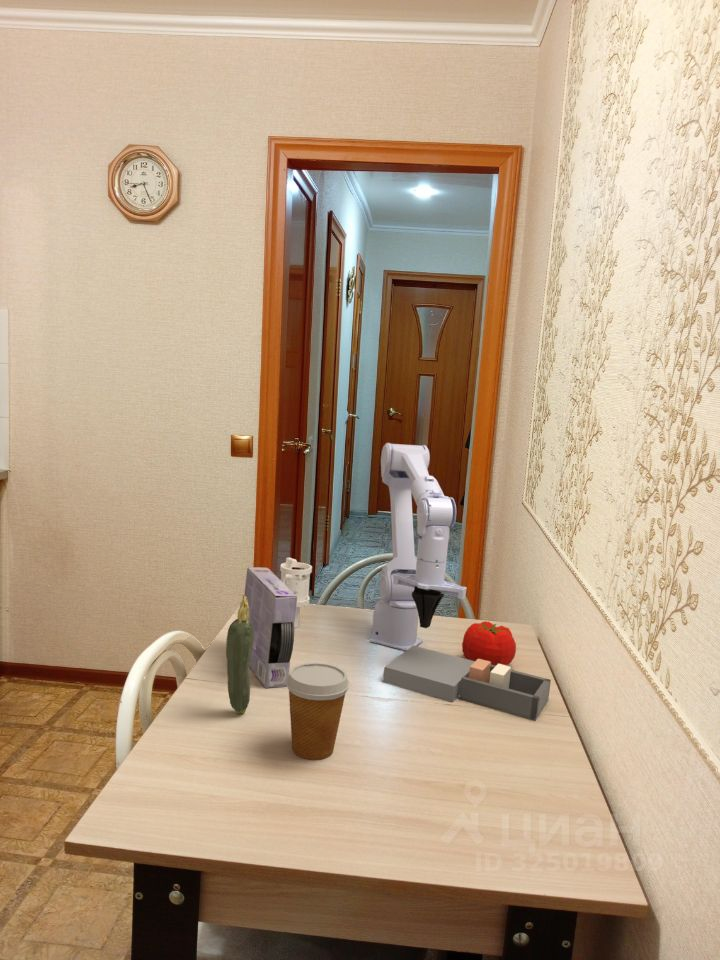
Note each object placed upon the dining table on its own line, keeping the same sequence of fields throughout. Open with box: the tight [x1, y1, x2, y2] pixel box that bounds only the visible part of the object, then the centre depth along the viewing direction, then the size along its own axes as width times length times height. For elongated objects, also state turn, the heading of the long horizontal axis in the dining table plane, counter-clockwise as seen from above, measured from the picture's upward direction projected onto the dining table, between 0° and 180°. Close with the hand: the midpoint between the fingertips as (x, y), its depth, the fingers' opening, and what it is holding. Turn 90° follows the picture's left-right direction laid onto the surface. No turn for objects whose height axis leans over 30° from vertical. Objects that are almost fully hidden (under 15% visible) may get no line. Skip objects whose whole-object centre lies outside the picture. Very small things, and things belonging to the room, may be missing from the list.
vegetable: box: [225, 594, 254, 714], centre depth 116 cm, size 4×4×20 cm
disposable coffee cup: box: [286, 662, 351, 761], centre depth 107 cm, size 10×10×12 cm
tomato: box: [461, 621, 517, 666], centre depth 147 cm, size 11×11×9 cm
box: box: [458, 665, 552, 722], centre depth 131 cm, size 14×10×4 cm
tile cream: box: [489, 664, 512, 689], centre depth 132 cm, size 5×5×2 cm
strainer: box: [279, 557, 313, 629], centre depth 160 cm, size 7×7×15 cm
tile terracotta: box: [469, 659, 491, 683], centre depth 133 cm, size 5×5×2 cm
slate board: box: [382, 645, 475, 703], centre depth 138 cm, size 14×14×3 cm
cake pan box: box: [243, 566, 297, 689], centre depth 135 cm, size 19×5×18 cm, turn 25°
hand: (425, 626), depth 140 cm, fingers closed
